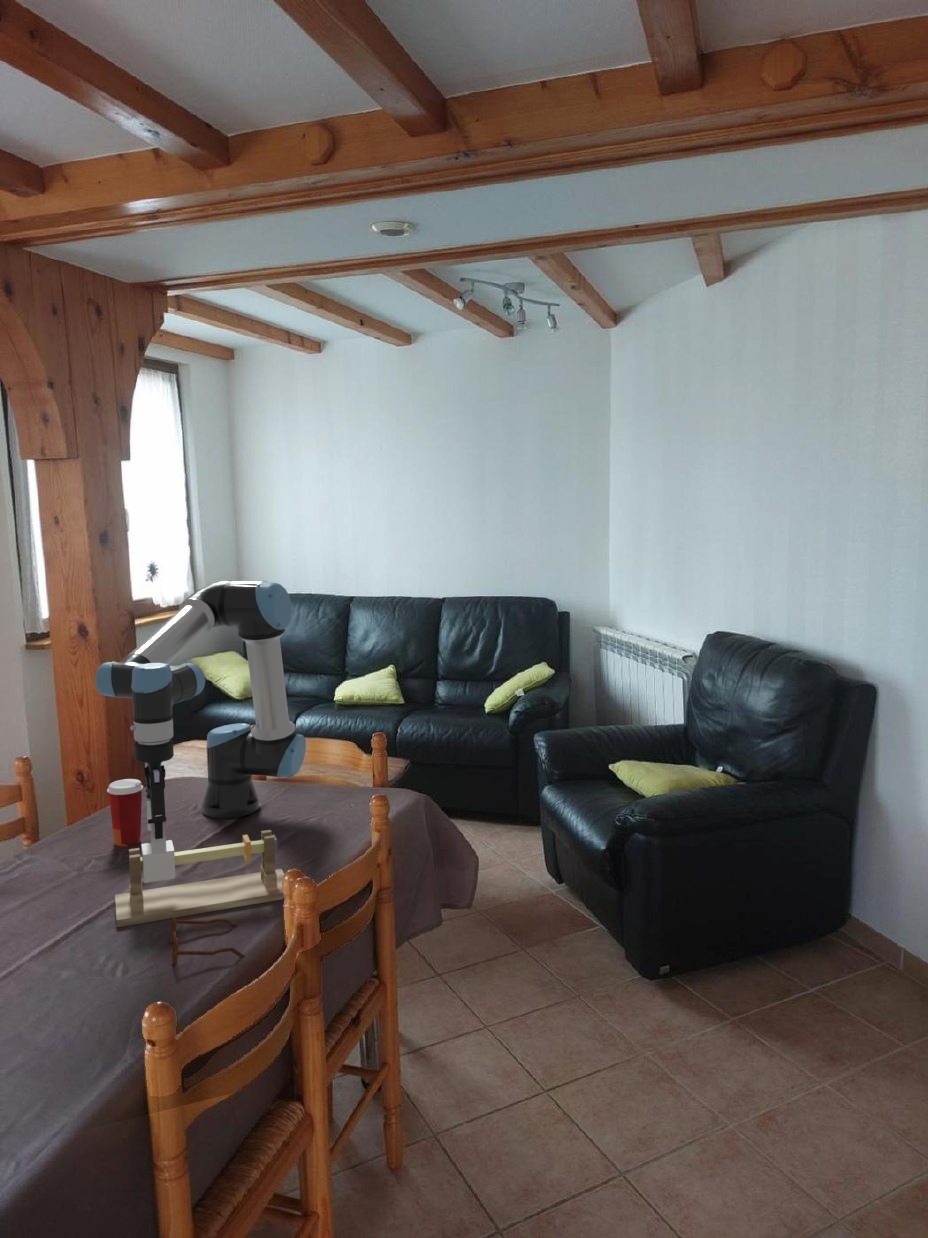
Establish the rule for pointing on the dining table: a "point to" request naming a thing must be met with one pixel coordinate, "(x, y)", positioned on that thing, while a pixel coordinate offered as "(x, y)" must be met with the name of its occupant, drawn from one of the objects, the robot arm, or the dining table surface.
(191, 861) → the pale yellow long bar
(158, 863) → the sleeve
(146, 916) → the wooden rod stand
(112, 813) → the coffee cup
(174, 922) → the glasses
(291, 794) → the dining table surface
